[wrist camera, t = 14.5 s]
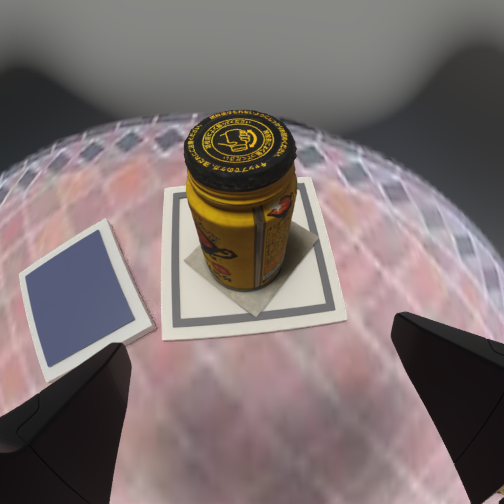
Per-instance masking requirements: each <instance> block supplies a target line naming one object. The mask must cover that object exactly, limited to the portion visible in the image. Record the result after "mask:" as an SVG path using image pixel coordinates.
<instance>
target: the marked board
mask: <svg viewBox="0 0 504 504" xmlns="http://www.w3.org/2000/svg"><path fill="white" fill-rule="evenodd" d="M291 220H292V221H293V222H295V223H297V224H298V225H300V226H301V227H303V228H305V229H306V230H308V231H310V232H312V233H314V234H315V235H317V236H318V237H319V238H318V240H317V241H316V242H315V243H314V245H313V246H312V247H311V249H310V250H309V252H308V253H307V254H306V255H305V257H304V258H303V259H302V261H301V262H300V263H299V264H298V265H297V267H296V268H295V269H294V271H293V272H292V274H291V275H290V276H289V277H288V279H287V280H286V281H285V282H284V284H283V285H282V286H281V288H280V289H279V290H278V291H277V292H276V294H275V295H274V296H273V297H272V299H271V300H270V301H269V302H268V304H267V305H266V306H265V307H264V308H263V310H262V311H261V312H260V313H259V314H258V316H257V317H255V316H253V315H252V314H251V313H250V312H248V311H247V310H246V309H244V308H243V307H242V306H240V305H239V304H237V303H236V302H235V301H233V300H232V299H231V298H230V297H228V296H227V295H226V294H224V293H223V292H222V291H221V290H219V289H218V288H217V287H215V286H214V285H213V284H212V283H210V282H209V281H208V280H207V279H205V278H204V277H203V276H202V275H200V274H199V273H198V272H197V271H195V270H194V269H193V268H192V267H191V266H189V265H188V264H187V263H186V262H185V261H183V260H184V259H186V258H187V257H188V256H189V255H190V254H191V253H192V252H193V251H194V250H195V249H196V248H197V247H198V246H199V245H200V242H199V237H198V234H197V230H196V227H195V224H194V220H193V217H192V214H191V210H190V208H189V205H188V200H187V197H186V186H178V187H170V188H165V192H164V207H163V225H162V251H161V321H162V340H163V341H178V340H195V339H209V338H221V337H232V336H243V335H252V334H261V333H270V332H278V331H285V330H293V329H300V328H307V327H313V326H320V325H326V324H332V323H338V322H344V321H347V320H348V318H347V313H346V309H345V304H344V300H343V295H342V291H341V286H340V282H339V278H338V274H337V269H336V265H335V261H334V257H333V253H332V249H331V246H330V242H329V238H328V234H327V231H326V227H325V223H324V220H323V216H322V213H321V209H320V206H319V202H318V199H317V196H316V192H315V189H314V186H313V182H312V179H311V177H297V195H296V201H295V206H294V212H293V215H292V219H291Z"/></svg>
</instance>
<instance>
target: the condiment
mask: <svg viewBox="0 0 504 504" xmlns="http://www.w3.org/2000/svg"><path fill="white" fill-rule="evenodd" d="M296 150H297V148H296V146H295V141H294V139H293V136H292V135H291V132H290V131H289V130H288V128H287V127H286V126H285V124H284V123H283V122H281V121H279V120H278V119H276V118H275V117H273V116H270V115H268V114H265V113H260V112H258V111H251V110H230V111H225V112H221V113H217V114H214V115H212V116H210V117H208V118H206V119H204V120H203V121H201V122H200V123H199V124H197V125H196V126H195V127H194V128H193V129H191V131H190V134H189V135H188V137H187V139H186V140H185V142H184V158H185V163H186V165H187V173H188V176H187V181H186V197H187V200H188V205H189V208H190V210H191V214H192V217H193V220H194V224H195V227H196V230H197V234H198V237H199V242H200V245H199V246H198V247H197V248H196V249H195V250H194V251H193V252H192V253H191V254H190V255H189V256H188V257H187V258H186V259H184V260H183V261H185V262H186V263H187V264H188V265H189V266H191V267H192V268H193V269H194V270H195V271H197V272H198V273H199V274H200V275H202V276H203V277H204V278H205V279H207V280H208V281H209V282H210V283H212V284H213V285H214V286H215V287H217V288H218V289H219V290H221V291H222V292H223V293H224V294H226V295H227V296H228V297H230V298H231V299H232V300H233V301H235V302H236V303H237V304H239V305H240V306H242V307H243V308H244V309H246V310H247V311H248V312H250V313H251V314H252V315H253V316H255V317H257V316H258V314H259V313H260V312H261V311H262V310H263V308H264V307H265V306H266V305H267V304H268V302H269V301H270V300H271V299H272V297H273V296H274V295H275V294H276V292H277V291H278V290H279V289H280V288H281V286H282V285H283V284H284V282H285V281H286V280H287V279H288V277H289V276H290V275H291V274H292V272H293V271H294V269H295V268H296V267H297V265H298V264H299V263H300V262H301V261H302V259H303V258H304V257H305V255H306V254H307V253H308V252H309V250H310V249H311V247H312V246H313V245H314V243H315V242H316V241H317V240H318V238H319V237H318V236H317V235H315V234H314V233H312V232H310V231H308V230H306V229H305V228H303V227H301V226H300V225H298V224H297V223H295V222H293V221H292V220H291V219H292V215H293V212H294V206H295V201H296V195H297V177H296V174H295V165H294V160H295V159H296V157H297V155H296V153H295V152H296Z"/></svg>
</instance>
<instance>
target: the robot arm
mask: <svg viewBox="0 0 504 504" xmlns="http://www.w3.org/2000/svg"><path fill="white" fill-rule="evenodd" d="M391 339H392V342H393V344H394V346H395V348H396V351H397V353H398V355H399V357H400V360H401V362H402V364H403V366H404V369H405V371H406V373H407V375H408V376H409V378H410V380H411V382H412V384H413V385H414V387H415V389H416V391H417V393H418V394H419V396H420V398H421V400H422V402H423V403H424V405H425V407H426V409H427V411H428V413H429V415H430V417H431V418H432V420H433V422H434V424H435V426H436V428H437V430H438V432H439V434H440V436H441V438H442V440H443V442H444V444H445V446H446V448H447V450H448V452H449V454H450V456H451V459H452V461H453V463H455V464H454V465H455V468H456V470H457V472H458V474H459V476H460V479H461V481H462V483H463V485H464V488H465V490H466V493H467V495H468V497H469V500H470V502H471V504H482V503H483V502H485V501H486V500H487V499H489V498H490V497H491V496H492V495H494V494H495V493H496V492H497V491H499V490H500V489H501V488H502V487H503V486H504V344H503V343H500V342H496V341H493V340H490V339H486V338H484V337H481V336H478V335H475V334H472V333H469V332H466V331H463V330H460V329H457V328H454V327H451V326H448V325H445V324H442V323H439V322H436V321H433V320H430V319H427V318H424V317H421V316H418V315H415V314H412V313H409V312H401V313H397V314H396V315H395V317H394V321H393V326H392V331H391ZM131 370H132V366H131V361H130V358H129V355H128V353H127V350H126V347H125V345H124V344H123V343H122V342H112V343H110V344H108V345H107V346H106V347H104V348H103V349H101V350H100V351H98V352H97V353H95V354H94V355H93V356H91V357H90V358H88V359H87V360H85V361H84V362H82V363H81V364H80V365H78V366H77V367H75V368H74V369H72V370H71V371H69V372H68V373H67V374H65V375H64V376H62V377H61V378H59V379H58V380H56V381H55V382H54V383H52V384H51V385H49V386H48V387H46V388H45V389H44V390H42V391H41V392H40V393H38V394H36V395H35V396H33V397H32V398H31V399H29V400H28V401H26V402H25V403H23V404H22V405H20V406H18V407H17V408H15V409H13V410H12V411H10V412H8V413H7V414H5V415H3V416H1V417H0V504H109V502H110V495H111V488H112V481H113V475H114V469H115V463H116V458H117V453H118V447H119V442H120V437H121V432H122V428H123V423H124V419H125V414H126V409H127V403H128V394H129V385H130V377H131ZM499 504H504V497H503V498H502V499H501V500H500V501H499Z"/></svg>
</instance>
